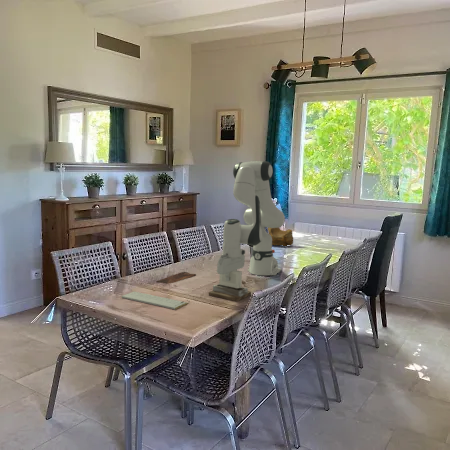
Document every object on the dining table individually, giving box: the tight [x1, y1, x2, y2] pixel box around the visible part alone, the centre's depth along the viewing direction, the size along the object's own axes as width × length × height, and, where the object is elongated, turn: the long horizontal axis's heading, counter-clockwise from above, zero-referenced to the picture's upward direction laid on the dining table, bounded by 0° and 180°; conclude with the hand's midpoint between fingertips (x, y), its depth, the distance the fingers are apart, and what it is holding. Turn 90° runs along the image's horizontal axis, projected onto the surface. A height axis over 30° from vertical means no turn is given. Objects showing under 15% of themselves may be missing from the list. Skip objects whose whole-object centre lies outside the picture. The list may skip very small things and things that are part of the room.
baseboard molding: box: [121, 291, 190, 311], centre depth 209 cm, size 31×3×12 cm
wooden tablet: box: [156, 271, 197, 285], centre depth 250 cm, size 26×2×10 cm
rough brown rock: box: [267, 227, 294, 246], centre depth 357 cm, size 23×17×15 cm
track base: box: [208, 283, 252, 302], centre depth 221 cm, size 14×16×4 cm
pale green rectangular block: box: [218, 270, 243, 288], centre depth 220 cm, size 3×11×8 cm, turn 57°
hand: (230, 279), depth 220 cm, fingers closed on pale green rectangular block, 3 cm apart
